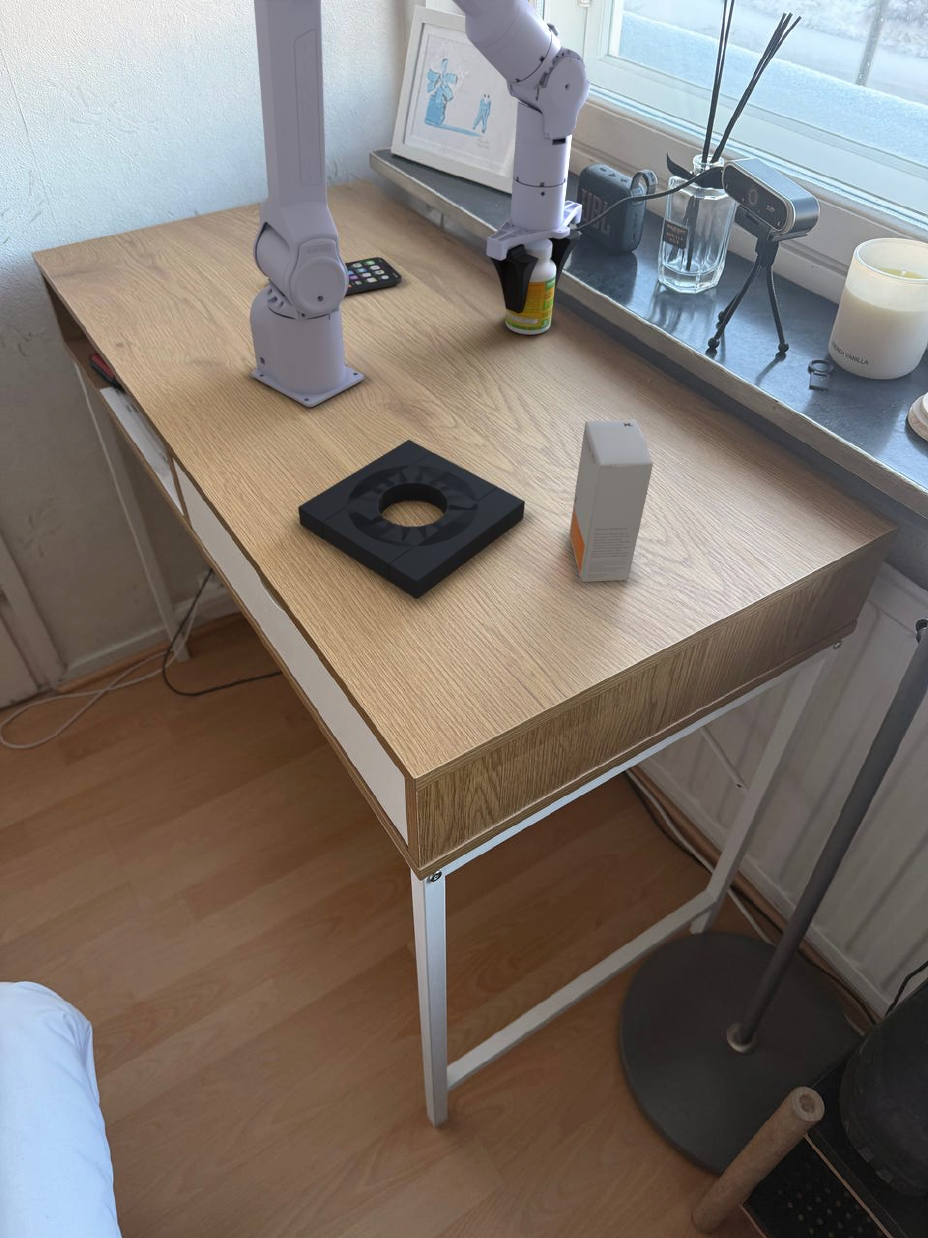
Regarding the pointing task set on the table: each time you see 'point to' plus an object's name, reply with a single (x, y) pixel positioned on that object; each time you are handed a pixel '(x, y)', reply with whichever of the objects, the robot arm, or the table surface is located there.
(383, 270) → the smartphone
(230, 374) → the table surface
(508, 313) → the supplement bottle
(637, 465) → the cosmetic box
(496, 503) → the socket pad
